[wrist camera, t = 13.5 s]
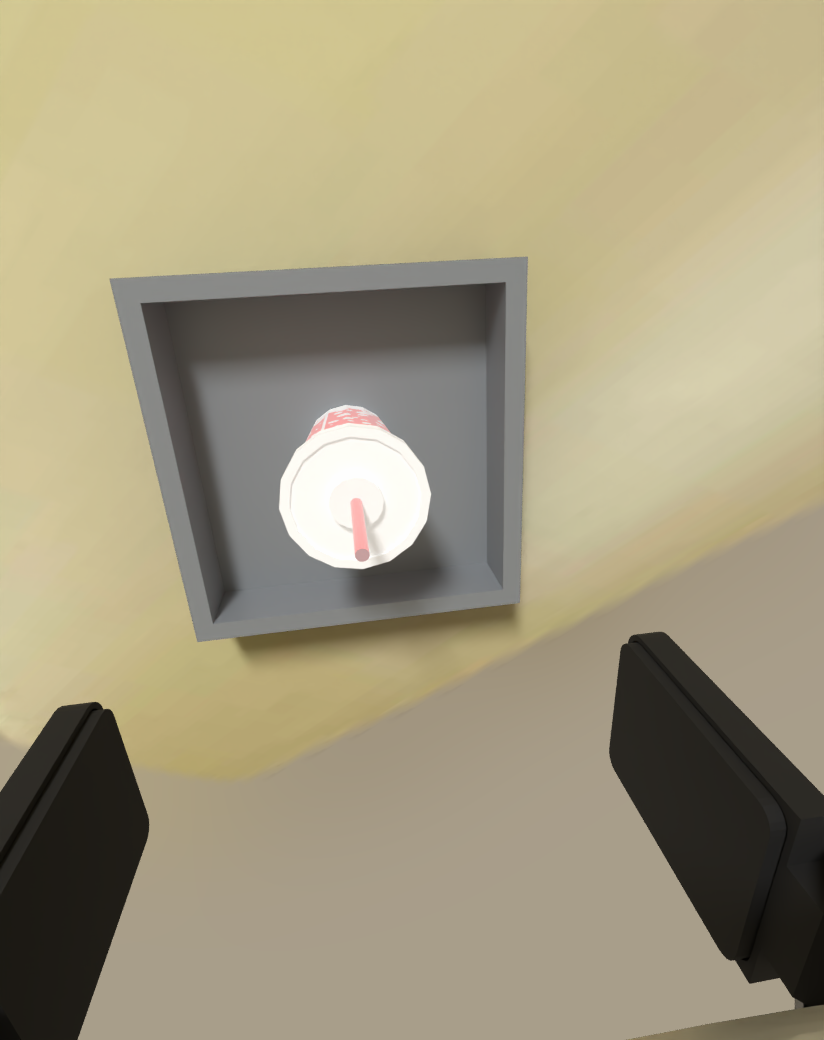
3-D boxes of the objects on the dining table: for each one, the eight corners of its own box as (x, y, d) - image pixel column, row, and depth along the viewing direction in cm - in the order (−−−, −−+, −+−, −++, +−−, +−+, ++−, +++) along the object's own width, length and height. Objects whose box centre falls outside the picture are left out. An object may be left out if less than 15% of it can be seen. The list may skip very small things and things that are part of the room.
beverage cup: (328, 516, 32) (324, 665, 19) (271, 423, 29) (223, 520, 16) (422, 468, 31) (485, 586, 18) (373, 370, 29) (406, 426, 16)
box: (499, 263, 29) (527, 256, 25) (497, 567, 36) (519, 603, 31) (143, 282, 27) (109, 278, 23) (214, 600, 34) (197, 642, 29)
